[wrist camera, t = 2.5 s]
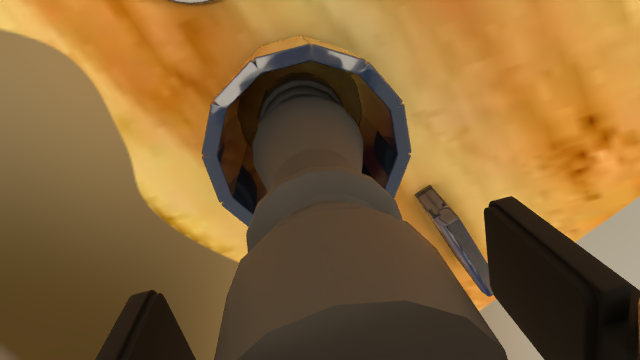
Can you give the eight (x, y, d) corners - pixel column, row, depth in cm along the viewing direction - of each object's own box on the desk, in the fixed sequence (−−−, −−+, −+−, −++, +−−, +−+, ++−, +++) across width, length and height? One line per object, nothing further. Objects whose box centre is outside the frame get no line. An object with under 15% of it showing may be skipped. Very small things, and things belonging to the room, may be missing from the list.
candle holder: (255, 145, 31) (177, 527, 8) (266, 65, 28) (199, 265, 5) (331, 156, 32) (466, 526, 9) (347, 80, 29) (589, 304, 6)
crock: (207, 59, 28) (171, 79, 19) (355, 20, 28) (391, 21, 19) (253, 193, 32) (242, 262, 23) (381, 159, 32) (421, 216, 23)
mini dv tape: (414, 194, 34) (440, 228, 28) (429, 184, 33) (458, 217, 28) (455, 256, 37) (486, 299, 31) (469, 248, 36) (503, 289, 31)
